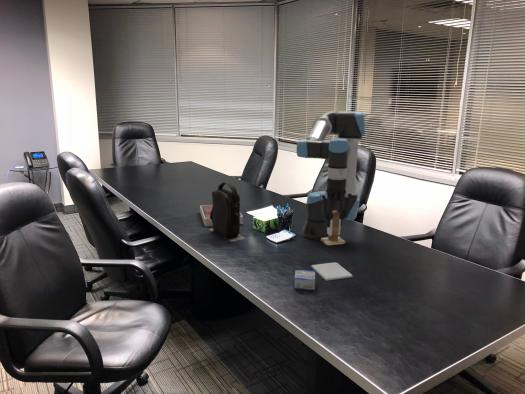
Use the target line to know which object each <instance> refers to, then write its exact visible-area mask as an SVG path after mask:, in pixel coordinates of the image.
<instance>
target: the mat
mask: <svg viewBox="0 0 525 394" xmlns="http://www.w3.org/2000/svg"><path fill="white" fill-rule="evenodd" d="M311 268H312V269H313V271H315V273H317V274H318V275H319V276H320V277H321V278H322V279H324V280H325V282H326V281H334V280H340V279H347V278H348V279H349V278H353V274H351V273H350V272H349V270H346V269H345V268H344V267H343V266H341V265H340V263H338V262H326V263H317V264H312V265H311Z"/></svg>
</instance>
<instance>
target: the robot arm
mask: <svg viewBox="0 0 525 394" xmlns="http://www.w3.org/2000/svg"><path fill="white" fill-rule="evenodd" d="M328 135H336V136H337V138H336V137H335V138H330V140H325V139H326V137H327V136H328ZM364 136H366V124H365V115H364V113H363V112H362V111H355V110H353V111H349V110H348V111H347V110H345V111H344V110H341V111H340V110H331V111H327V112H324V113H322V114H320V115H319V116H318V117H316V118H315V119H314V121H313V122H312V127H311V130H310V132H309V133H308V136H307V138H306V139H299V140H298V141H297V142H296V149H295V150H296V156H297V157H298V158H303V159H319V160H320V159H323V160H327V161H328V162H327V163H328V164H327V174H326V175H327V178H326V190H320V191H314V192H310V193H309V194H307V198H306V203H305V204H306V213H305V215H306V216H305V217H306V218H305V223H304V225H303V228H302V231H301V232H302V234H301V235H302V237H304V238H306V239H309V240H314V241H321V238H326V237H328V234H329V235H330V236H331V235H332V222H333V220H332V219H331V216H332V211H338V212H340V219H339V233H338V236H339V235H340V234H341V227H342V226H343V220H345V221H347V220H350V221H351V220H355V219H356V218H357V215H358V211H359V206H360V202H361V197H359V196H358V193H357V191H356V180H357V179H356V177H357V165H358V164H357V163H358V153H359V152H358V150H359V143H360V142H361V141H362V139H363V137H364ZM340 236H341V235H340Z"/></svg>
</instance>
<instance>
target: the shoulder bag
mask: <svg viewBox="0 0 525 394" xmlns="http://www.w3.org/2000/svg"><path fill="white" fill-rule="evenodd" d="M225 185H228V187H229V188H230V189H226V188H224V186H225ZM211 197H212V205H213V206H212V210H211V213H210V219H211V220H212V223H213V226H212V228H209V231H211V232H212V233H215V234H216V235H218V236H220V237H221V238H224V239H226V240H227V241H228V242H230V243H231V242H232V243H233V242H236V241H239V240H240V241H241V240H245V239H246V237H244V236H243V235H241V234H240V230H241V229H240V228H241V227H240V225H241V224H240V213H241V210H240V209H241V208H240V207H241V197H240V194H239V193H238V191H237V188H236V186H235V185H234V184H233V182H229V181H227V182H226V181H223V182H222V183H220V184H219V185H218V188H217V189H216V190H215V191H214V190H213V191H212V192H211Z"/></svg>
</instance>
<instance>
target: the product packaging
mask: <svg viewBox="0 0 525 394" xmlns="http://www.w3.org/2000/svg"><path fill="white" fill-rule="evenodd" d="M212 206H213V204H204V205H199V212H200V215H201V218H202V221H203V225H204V227H213V223H212V220H211V219H210V213H211V210H212ZM243 224H244V216H243V214H242V213H241V212H240V225H243Z"/></svg>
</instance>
